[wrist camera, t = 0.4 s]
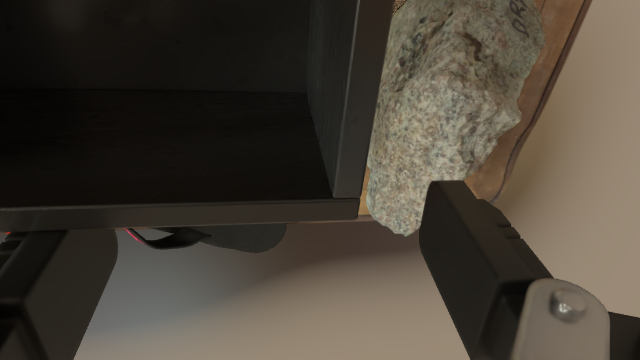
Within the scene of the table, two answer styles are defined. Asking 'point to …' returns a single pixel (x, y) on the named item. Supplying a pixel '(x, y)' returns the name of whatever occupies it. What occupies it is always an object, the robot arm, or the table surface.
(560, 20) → the table surface
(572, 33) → the table surface
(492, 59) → the rock
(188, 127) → the pedestal box
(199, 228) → the sandal
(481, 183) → the table surface
